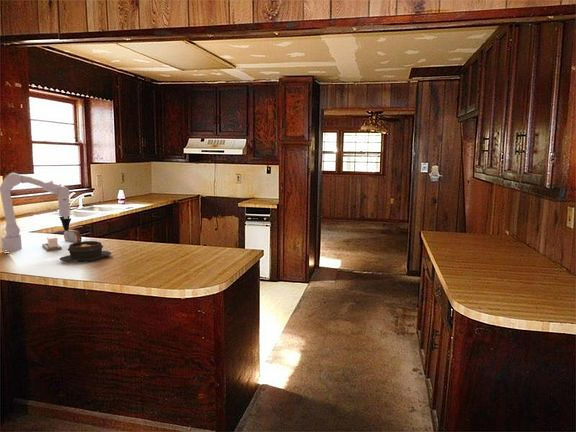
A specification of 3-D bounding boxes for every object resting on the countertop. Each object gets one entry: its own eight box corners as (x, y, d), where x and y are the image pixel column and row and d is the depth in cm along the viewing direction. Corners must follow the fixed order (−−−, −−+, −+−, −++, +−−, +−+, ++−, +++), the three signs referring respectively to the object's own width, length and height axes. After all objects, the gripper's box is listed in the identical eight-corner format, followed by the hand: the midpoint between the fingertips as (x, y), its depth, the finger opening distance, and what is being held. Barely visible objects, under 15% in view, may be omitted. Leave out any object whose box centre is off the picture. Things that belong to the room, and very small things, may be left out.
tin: (82, 244, 263) (81, 230, 262) (77, 245, 261) (76, 231, 260) (68, 241, 271) (67, 228, 270) (63, 242, 269) (62, 229, 267)
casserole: (66, 267, 212) (65, 250, 211) (55, 260, 225) (53, 244, 224) (117, 258, 229) (116, 243, 228) (103, 252, 243) (102, 237, 241)
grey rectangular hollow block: (47, 253, 239) (47, 247, 238) (42, 249, 250) (42, 242, 250) (61, 252, 243) (61, 245, 242) (56, 247, 255) (55, 241, 254)
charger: (50, 250, 240) (49, 238, 239) (48, 248, 244) (47, 237, 243) (58, 249, 243) (57, 237, 242) (56, 247, 247) (55, 236, 246)
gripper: (73, 207, 252) (74, 230, 254) (70, 204, 264) (72, 226, 266) (59, 208, 248) (61, 231, 250) (57, 205, 260) (59, 227, 262)
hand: (65, 229), depth 258 cm, fingers open, 7 cm apart
